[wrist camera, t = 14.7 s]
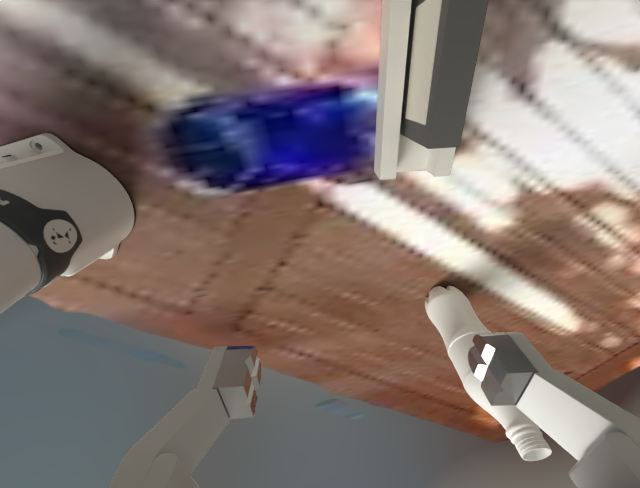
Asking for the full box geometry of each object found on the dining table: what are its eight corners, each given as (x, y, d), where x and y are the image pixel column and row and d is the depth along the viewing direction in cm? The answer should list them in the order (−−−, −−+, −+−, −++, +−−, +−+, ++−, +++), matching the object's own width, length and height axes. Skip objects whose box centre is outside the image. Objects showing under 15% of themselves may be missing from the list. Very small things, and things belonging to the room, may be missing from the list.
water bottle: (412, 301, 50) (486, 460, 29) (440, 274, 47) (545, 431, 26) (440, 315, 52) (529, 474, 31) (468, 290, 49) (588, 448, 28)
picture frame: (398, 133, 35) (427, 149, 26) (411, -13, 28) (456, -58, 19) (423, 132, 35) (460, 147, 26) (442, -15, 28) (502, -62, 19)
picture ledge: (373, 171, 38) (380, 179, 35) (385, -78, 26) (397, -103, 22) (437, 167, 38) (450, 175, 34) (479, -84, 26) (505, -111, 22)
